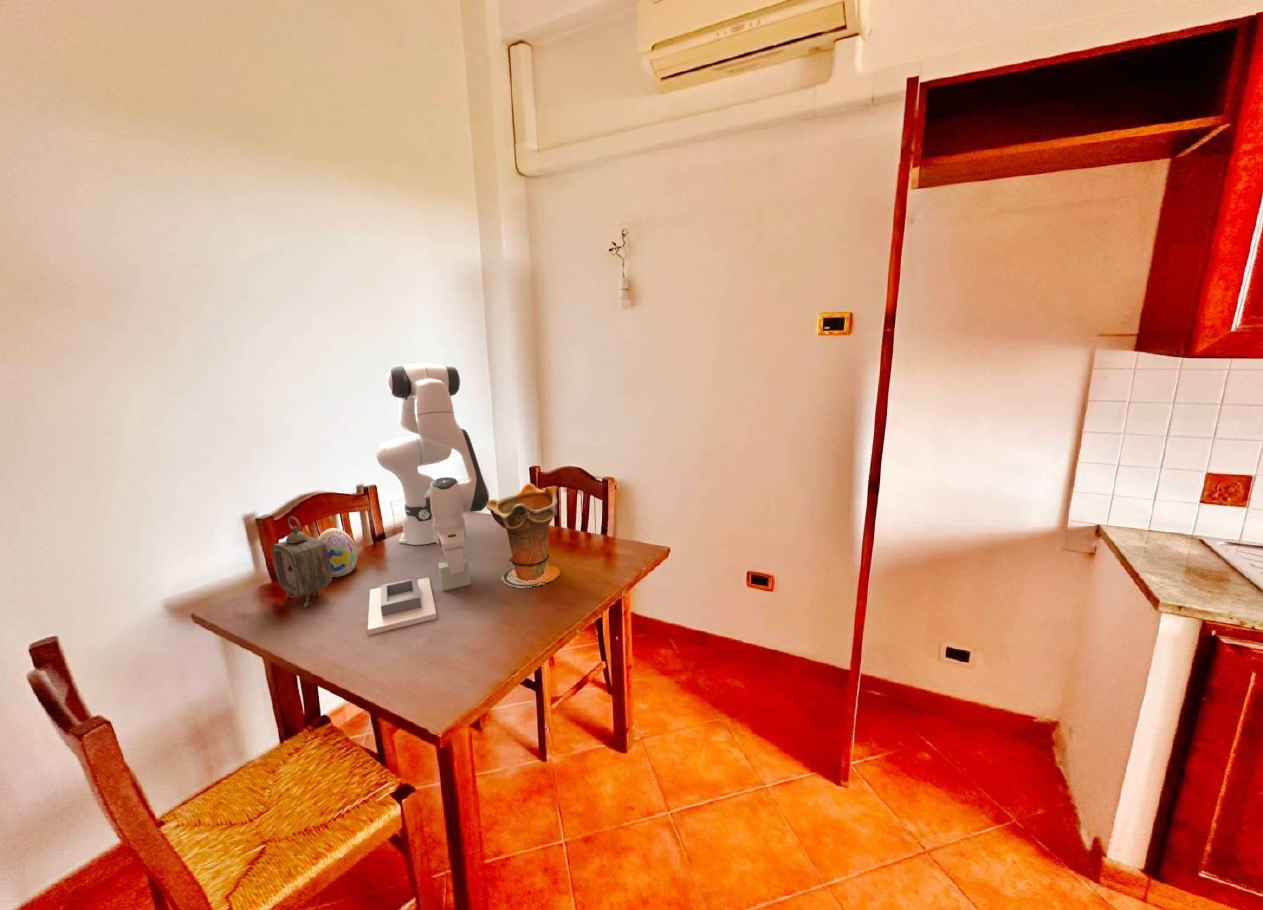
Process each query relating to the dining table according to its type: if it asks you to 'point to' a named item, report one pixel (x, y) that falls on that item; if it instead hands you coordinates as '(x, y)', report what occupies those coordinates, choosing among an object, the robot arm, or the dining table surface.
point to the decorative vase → (526, 530)
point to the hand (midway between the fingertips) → (454, 576)
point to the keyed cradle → (400, 605)
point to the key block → (448, 580)
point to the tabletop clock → (301, 564)
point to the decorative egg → (339, 551)
